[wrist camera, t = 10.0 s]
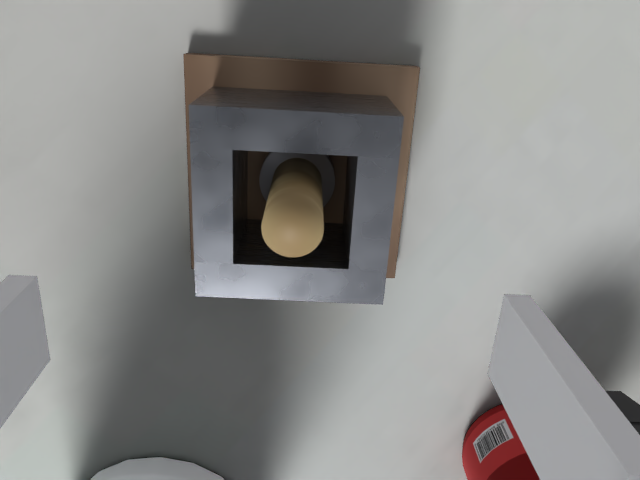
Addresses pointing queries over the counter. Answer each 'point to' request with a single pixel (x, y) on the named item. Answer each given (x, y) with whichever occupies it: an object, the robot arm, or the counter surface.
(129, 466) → the bottle
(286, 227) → the post
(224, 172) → the ring
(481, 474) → the canned food
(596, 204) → the counter surface
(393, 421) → the counter surface
